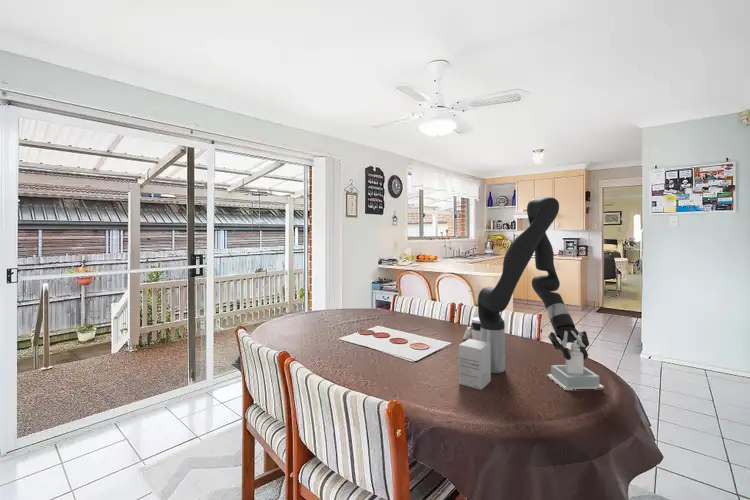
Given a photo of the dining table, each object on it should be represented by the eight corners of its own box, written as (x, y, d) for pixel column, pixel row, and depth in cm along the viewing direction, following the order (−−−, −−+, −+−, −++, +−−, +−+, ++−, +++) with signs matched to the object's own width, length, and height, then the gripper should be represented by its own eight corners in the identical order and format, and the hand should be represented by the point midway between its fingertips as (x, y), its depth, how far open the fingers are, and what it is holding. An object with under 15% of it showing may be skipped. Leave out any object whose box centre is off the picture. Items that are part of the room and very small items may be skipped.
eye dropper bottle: (581, 377, 132) (581, 344, 131) (564, 372, 136) (564, 340, 135) (584, 373, 135) (585, 341, 134) (568, 369, 139) (568, 338, 138)
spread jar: (489, 345, 179) (489, 321, 178) (466, 345, 179) (466, 321, 179) (483, 337, 191) (482, 315, 190) (461, 337, 191) (461, 315, 191)
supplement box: (468, 375, 143) (468, 338, 142) (491, 381, 138) (491, 342, 137) (458, 383, 136) (457, 344, 135) (481, 390, 131) (481, 349, 130)
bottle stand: (564, 390, 129) (564, 378, 129) (547, 376, 141) (547, 365, 141) (603, 389, 129) (603, 376, 129) (583, 375, 141) (583, 363, 141)
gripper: (545, 313, 141) (562, 355, 130) (582, 312, 141) (601, 353, 130) (538, 323, 147) (554, 364, 135) (574, 322, 147) (592, 362, 136)
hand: (577, 358), depth 133 cm, fingers closed on eye dropper bottle, 5 cm apart
